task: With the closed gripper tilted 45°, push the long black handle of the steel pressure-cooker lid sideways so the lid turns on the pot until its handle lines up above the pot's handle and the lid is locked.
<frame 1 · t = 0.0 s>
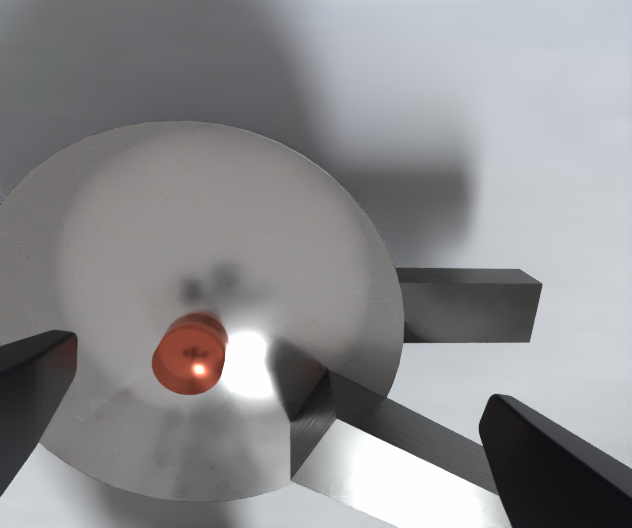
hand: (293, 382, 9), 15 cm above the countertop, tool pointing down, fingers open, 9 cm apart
cooker lid: (298, 406, 16), point 9 cm above the countertop, hinge at -30.0°
cooker pot: (226, 270, 23), on the countertop
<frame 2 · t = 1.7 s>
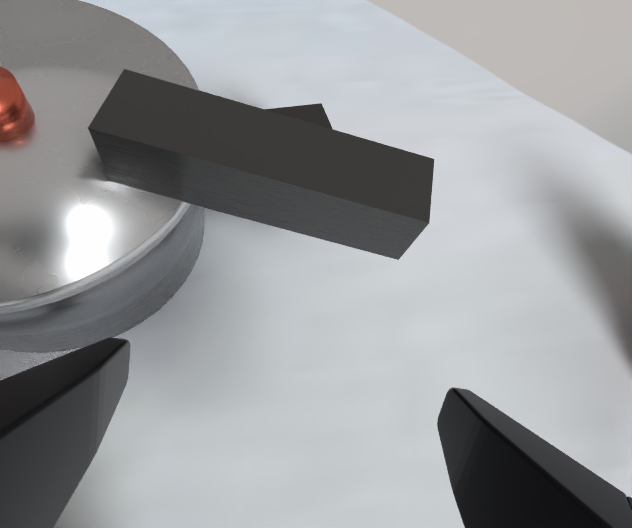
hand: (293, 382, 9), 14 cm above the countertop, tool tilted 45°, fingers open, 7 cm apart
cooker lid: (107, 133, 16), point 9 cm above the countertop, hinge at -30.0°
cooker pot: (69, 222, 24), on the countertop
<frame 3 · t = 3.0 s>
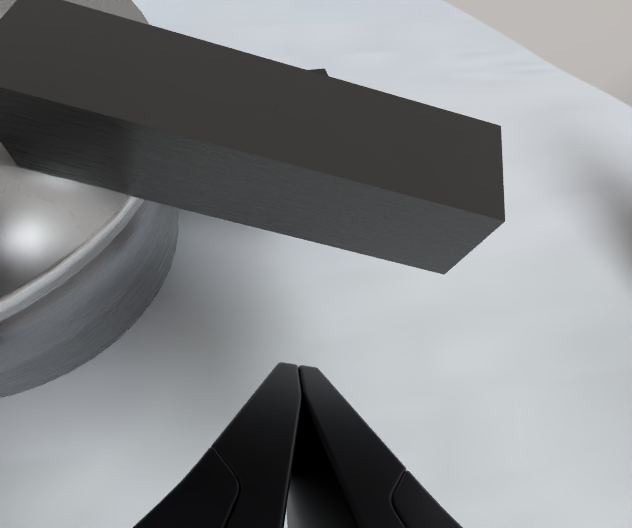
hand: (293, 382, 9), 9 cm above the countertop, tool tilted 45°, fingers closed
cooker lid: (10, 93, 11), point 9 cm above the countertop, hinge at -30.0°
cooker pot: (0, 227, 18), on the countertop
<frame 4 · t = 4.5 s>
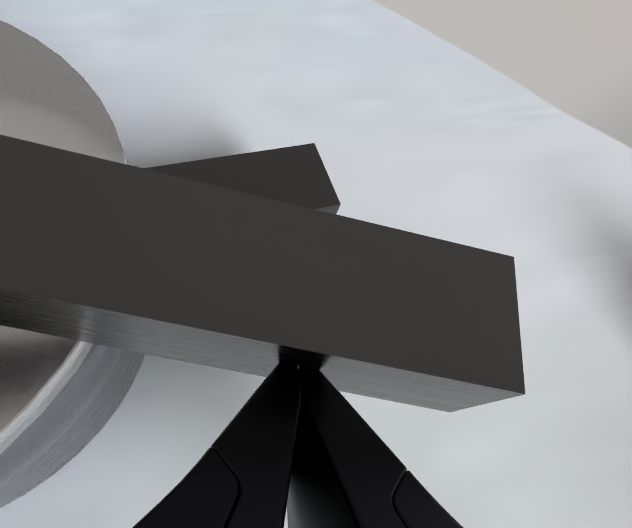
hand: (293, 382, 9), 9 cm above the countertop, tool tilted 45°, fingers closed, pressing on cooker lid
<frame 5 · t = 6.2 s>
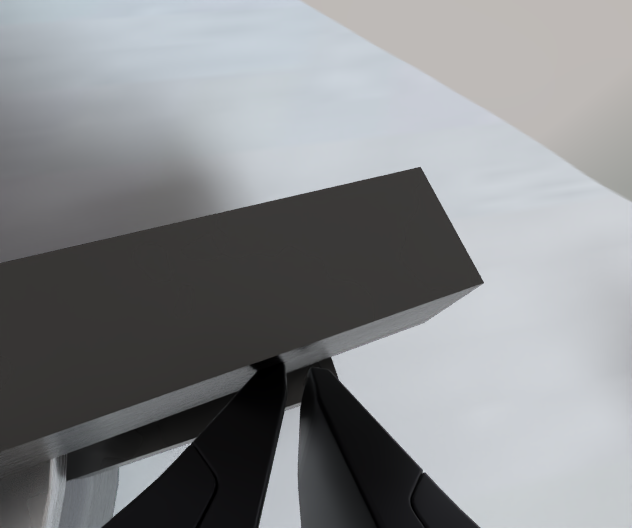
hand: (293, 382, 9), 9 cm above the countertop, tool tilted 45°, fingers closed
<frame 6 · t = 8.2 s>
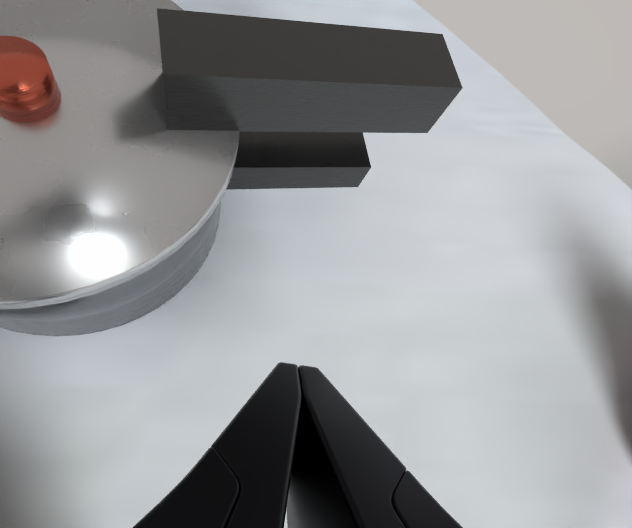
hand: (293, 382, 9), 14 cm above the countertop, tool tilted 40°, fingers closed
cooker lid: (150, 81, 16), point 9 cm above the countertop, hinge at 1.1°
cooker pot: (80, 200, 23), on the countertop
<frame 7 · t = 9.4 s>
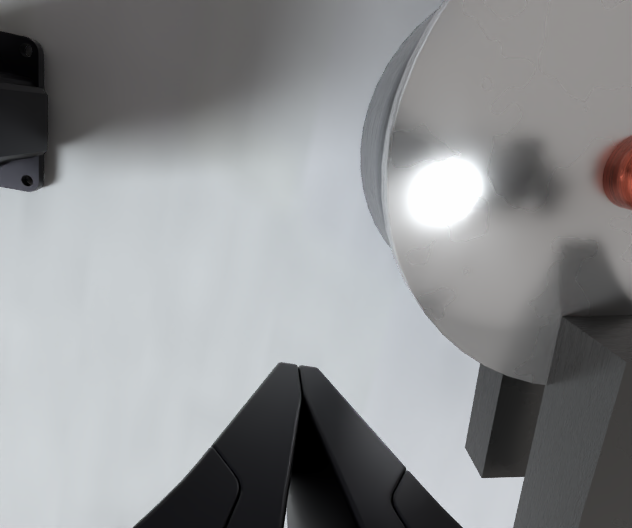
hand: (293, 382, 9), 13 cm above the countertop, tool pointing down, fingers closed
cooker lid: (627, 314, 14), point 9 cm above the countertop, hinge at 1.1°
cooker pot: (509, 152, 21), on the countertop
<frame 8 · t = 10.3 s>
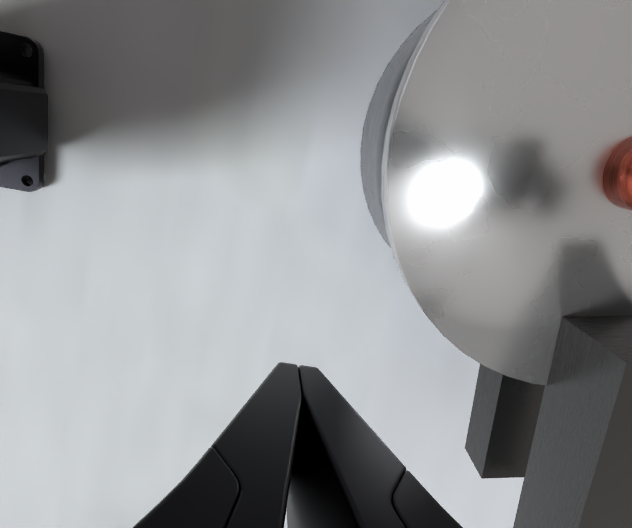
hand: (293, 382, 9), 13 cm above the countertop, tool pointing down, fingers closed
cooker lid: (627, 315, 14), point 9 cm above the countertop, hinge at 1.1°
cooker pot: (510, 153, 21), on the countertop
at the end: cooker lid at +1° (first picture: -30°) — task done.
